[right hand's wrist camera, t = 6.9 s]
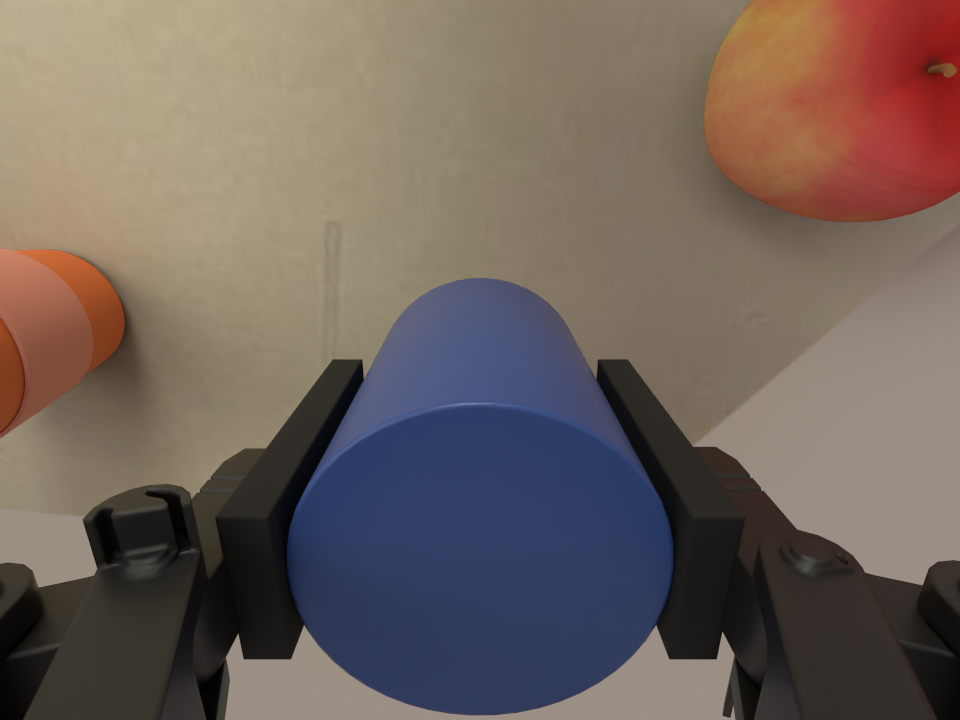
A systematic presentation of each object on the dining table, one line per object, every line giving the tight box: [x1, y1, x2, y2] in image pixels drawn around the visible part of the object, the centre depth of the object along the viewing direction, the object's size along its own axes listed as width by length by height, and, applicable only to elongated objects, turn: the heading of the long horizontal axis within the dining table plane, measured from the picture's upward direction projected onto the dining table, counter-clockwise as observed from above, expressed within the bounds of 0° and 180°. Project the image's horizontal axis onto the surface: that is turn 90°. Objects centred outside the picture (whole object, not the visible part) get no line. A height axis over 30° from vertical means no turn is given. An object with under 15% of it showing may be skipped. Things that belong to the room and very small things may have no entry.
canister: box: [286, 278, 674, 715], centre depth 12 cm, size 6×6×8 cm
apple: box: [704, 0, 960, 222], centre depth 20 cm, size 10×10×10 cm
